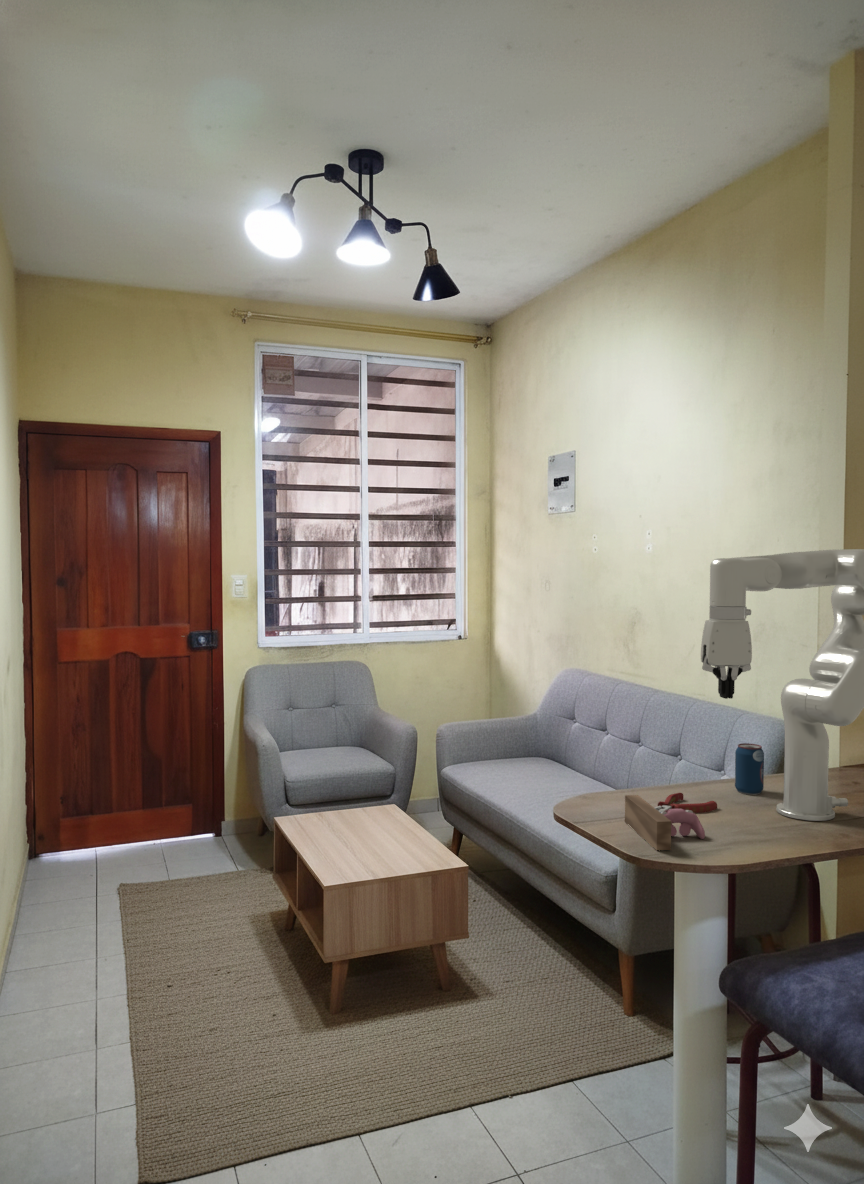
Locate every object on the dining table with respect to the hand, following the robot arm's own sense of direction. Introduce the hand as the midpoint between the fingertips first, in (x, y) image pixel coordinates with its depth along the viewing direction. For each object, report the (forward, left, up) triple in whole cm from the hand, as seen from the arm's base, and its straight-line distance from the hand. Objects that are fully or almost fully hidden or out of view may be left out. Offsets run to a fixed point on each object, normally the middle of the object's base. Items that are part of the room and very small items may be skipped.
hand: (726, 697), depth 188 cm
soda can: (-20, -29, -29) cm, 46 cm away
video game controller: (+13, +6, -29) cm, 32 cm away
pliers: (+6, -16, -30) cm, 34 cm away
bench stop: (+19, +4, -29) cm, 35 cm away
